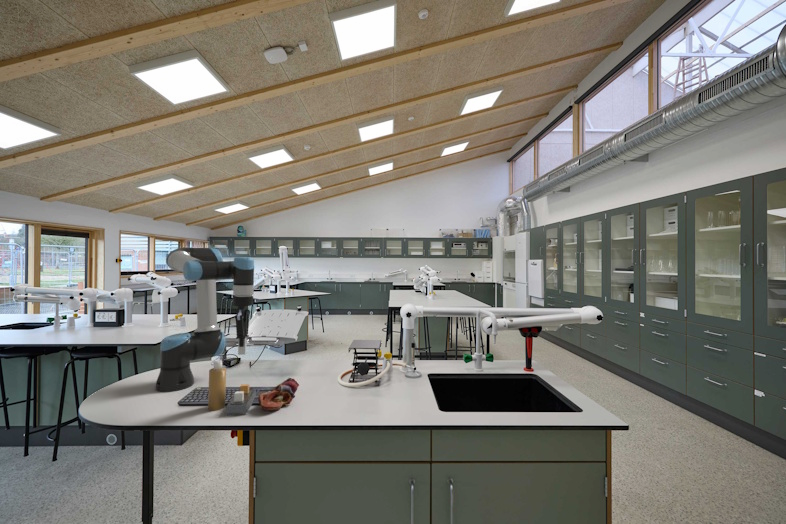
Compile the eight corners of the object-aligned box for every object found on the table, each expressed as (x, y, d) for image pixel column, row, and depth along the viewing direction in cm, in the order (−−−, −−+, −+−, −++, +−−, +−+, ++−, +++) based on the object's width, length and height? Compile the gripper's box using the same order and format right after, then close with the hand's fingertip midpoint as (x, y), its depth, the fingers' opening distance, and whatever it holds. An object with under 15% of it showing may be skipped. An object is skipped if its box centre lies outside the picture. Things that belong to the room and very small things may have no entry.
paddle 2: (241, 392, 144) (241, 384, 144) (249, 391, 145) (249, 384, 145) (240, 393, 142) (240, 386, 142) (247, 393, 143) (247, 385, 143)
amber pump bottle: (211, 404, 141) (213, 359, 141) (227, 404, 142) (228, 359, 141) (205, 410, 135) (206, 364, 135) (221, 410, 136) (223, 364, 135)
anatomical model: (250, 398, 133) (279, 366, 139) (261, 402, 145) (288, 373, 151) (270, 417, 130) (298, 384, 136) (279, 419, 142) (305, 389, 147)
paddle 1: (235, 399, 136) (235, 391, 136) (243, 399, 137) (243, 391, 137) (234, 401, 134) (234, 393, 134) (242, 401, 135) (242, 393, 135)
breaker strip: (242, 393, 153) (242, 384, 153) (259, 392, 154) (259, 384, 154) (226, 415, 131) (226, 405, 131) (245, 414, 132) (245, 404, 132)
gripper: (238, 293, 145) (237, 349, 146) (228, 297, 132) (227, 359, 133) (257, 293, 146) (255, 349, 147) (248, 297, 134) (247, 358, 134)
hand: (242, 354), depth 140 cm, fingers closed
